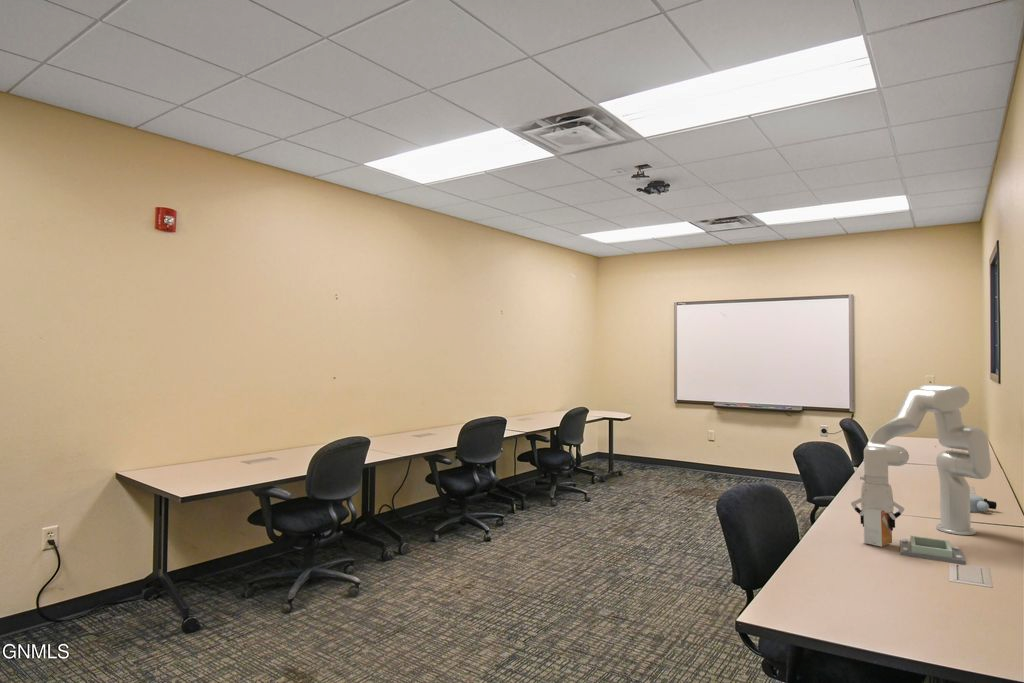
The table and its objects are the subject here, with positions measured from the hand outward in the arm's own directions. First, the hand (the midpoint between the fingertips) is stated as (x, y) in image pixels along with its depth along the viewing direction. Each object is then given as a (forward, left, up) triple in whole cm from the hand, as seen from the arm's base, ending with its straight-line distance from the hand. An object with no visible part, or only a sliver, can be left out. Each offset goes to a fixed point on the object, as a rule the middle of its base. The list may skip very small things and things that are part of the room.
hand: (877, 527), depth 217 cm
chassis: (+2, +16, -6) cm, 17 cm away
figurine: (-82, +34, -7) cm, 89 cm away
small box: (0, 0, -6) cm, 6 cm away
